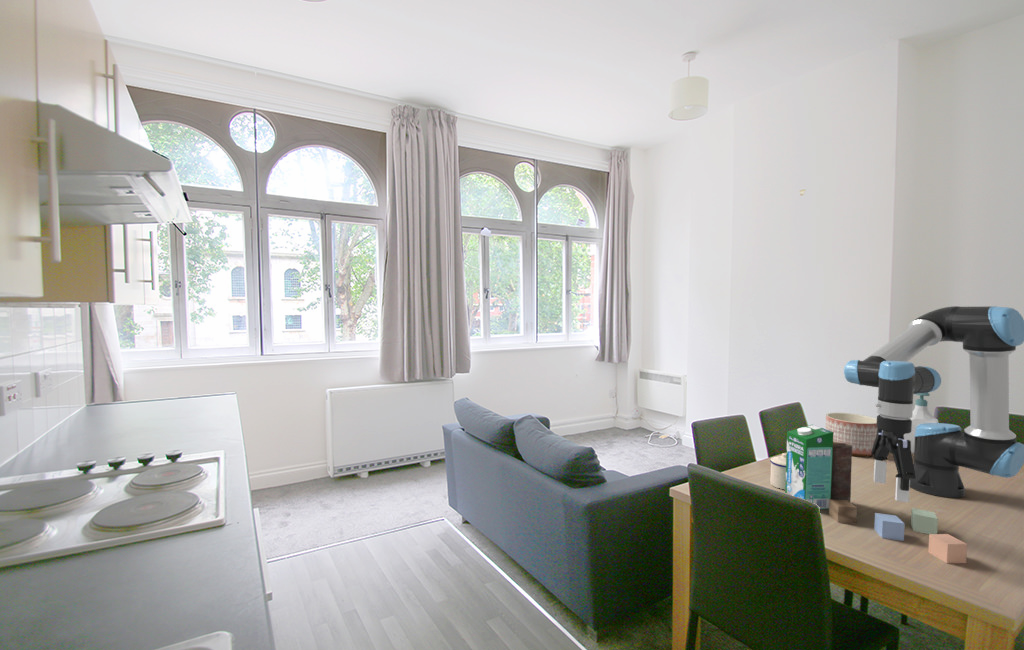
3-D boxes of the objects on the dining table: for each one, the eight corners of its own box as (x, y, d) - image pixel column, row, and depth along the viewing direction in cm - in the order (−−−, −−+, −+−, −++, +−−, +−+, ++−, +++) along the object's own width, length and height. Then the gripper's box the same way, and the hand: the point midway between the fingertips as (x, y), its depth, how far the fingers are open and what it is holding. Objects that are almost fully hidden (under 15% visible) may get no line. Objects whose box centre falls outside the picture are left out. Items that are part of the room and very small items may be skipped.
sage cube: (933, 528, 134) (934, 512, 133) (937, 536, 129) (937, 518, 129) (910, 524, 136) (911, 507, 136) (913, 531, 132) (914, 514, 132)
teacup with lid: (794, 493, 158) (795, 460, 157) (765, 485, 165) (766, 453, 164) (805, 484, 166) (806, 452, 165) (777, 477, 173) (778, 446, 172)
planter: (838, 456, 196) (840, 422, 195) (816, 443, 215) (818, 411, 214) (889, 459, 193) (890, 424, 192) (862, 445, 211) (863, 413, 211)
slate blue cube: (895, 532, 131) (896, 515, 131) (903, 541, 127) (904, 523, 126) (874, 529, 133) (875, 512, 133) (881, 538, 128) (882, 520, 128)
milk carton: (784, 497, 154) (787, 424, 153) (810, 497, 155) (812, 423, 154) (804, 510, 145) (806, 432, 144) (830, 509, 146) (833, 431, 145)
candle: (842, 510, 145) (844, 448, 144) (817, 501, 151) (819, 441, 150) (855, 505, 148) (857, 444, 147) (830, 497, 155) (833, 438, 154)
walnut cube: (846, 516, 141) (847, 500, 141) (856, 523, 136) (856, 507, 136) (828, 515, 142) (829, 499, 142) (837, 522, 137) (838, 506, 137)
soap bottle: (937, 452, 201) (940, 390, 199) (934, 457, 195) (938, 393, 194) (905, 446, 209) (907, 387, 208) (901, 450, 204) (904, 389, 202)
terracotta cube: (946, 552, 121) (947, 534, 121) (966, 563, 116) (967, 544, 116) (928, 552, 121) (929, 534, 121) (946, 563, 116) (947, 544, 116)
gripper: (860, 406, 141) (856, 474, 142) (899, 426, 117) (894, 507, 118) (889, 408, 139) (886, 477, 140) (935, 429, 115) (930, 512, 116)
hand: (890, 491), depth 129 cm, fingers open, 13 cm apart
